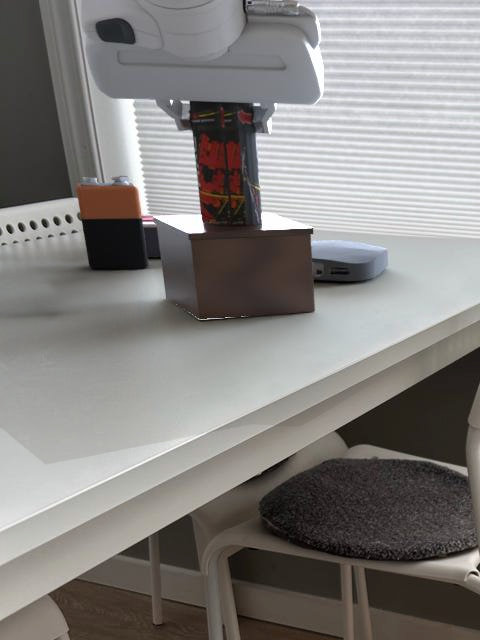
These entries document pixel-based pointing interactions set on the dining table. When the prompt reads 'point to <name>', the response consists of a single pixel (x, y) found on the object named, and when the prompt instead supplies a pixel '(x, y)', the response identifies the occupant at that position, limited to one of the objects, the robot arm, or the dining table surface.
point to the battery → (112, 224)
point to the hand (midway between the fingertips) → (225, 127)
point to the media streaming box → (347, 260)
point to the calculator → (153, 234)
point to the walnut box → (237, 266)
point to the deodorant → (226, 163)
